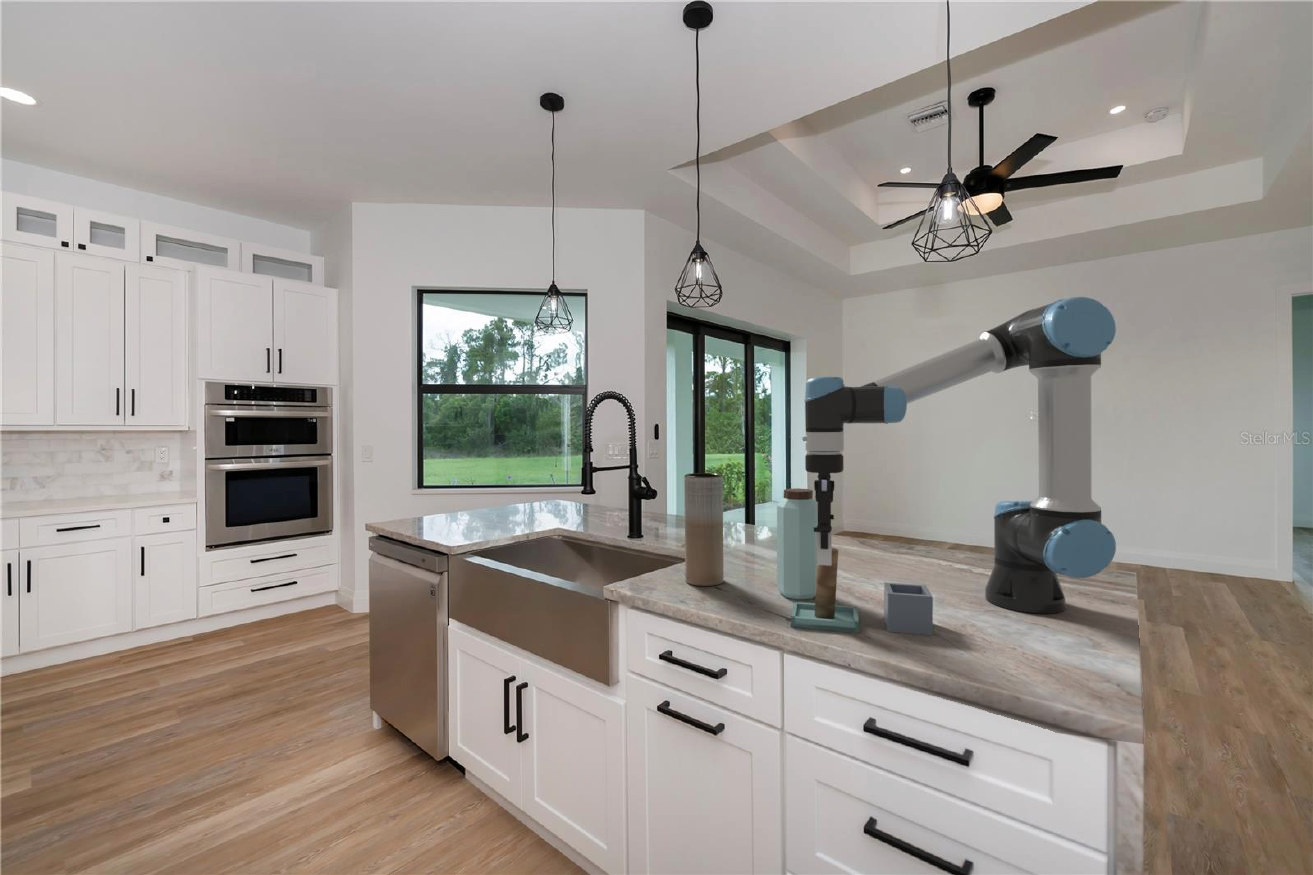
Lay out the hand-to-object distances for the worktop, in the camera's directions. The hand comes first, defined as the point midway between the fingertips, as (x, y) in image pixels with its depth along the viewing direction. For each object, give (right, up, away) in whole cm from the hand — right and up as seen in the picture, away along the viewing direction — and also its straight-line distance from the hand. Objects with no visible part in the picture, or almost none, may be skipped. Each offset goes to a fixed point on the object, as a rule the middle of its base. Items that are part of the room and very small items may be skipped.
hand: (824, 557), depth 118 cm
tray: (0, -13, 0) cm, 13 cm away
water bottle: (-1, -13, +19) cm, 23 cm away
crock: (+16, -13, -3) cm, 21 cm away
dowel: (0, -12, 0) cm, 12 cm away
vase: (-22, -13, +31) cm, 40 cm away
